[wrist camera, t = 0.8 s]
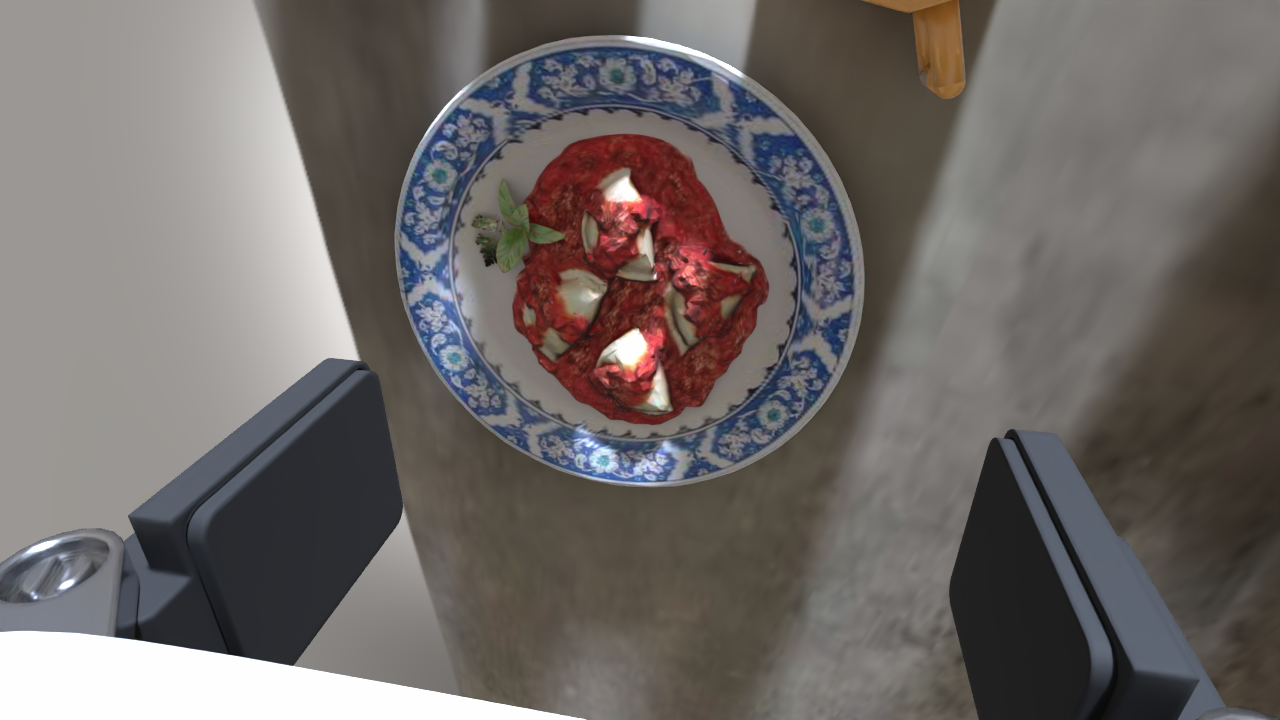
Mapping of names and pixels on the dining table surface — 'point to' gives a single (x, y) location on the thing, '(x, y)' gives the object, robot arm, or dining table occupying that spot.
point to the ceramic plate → (629, 261)
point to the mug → (936, 43)
